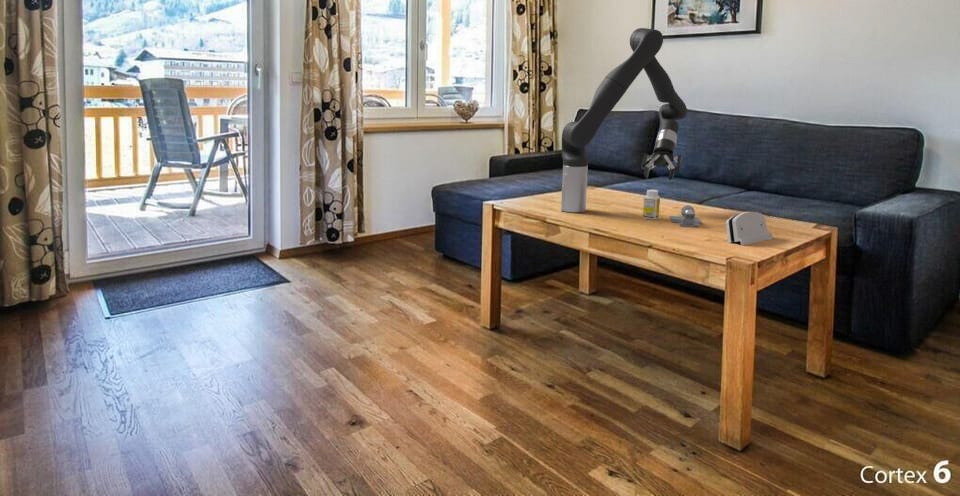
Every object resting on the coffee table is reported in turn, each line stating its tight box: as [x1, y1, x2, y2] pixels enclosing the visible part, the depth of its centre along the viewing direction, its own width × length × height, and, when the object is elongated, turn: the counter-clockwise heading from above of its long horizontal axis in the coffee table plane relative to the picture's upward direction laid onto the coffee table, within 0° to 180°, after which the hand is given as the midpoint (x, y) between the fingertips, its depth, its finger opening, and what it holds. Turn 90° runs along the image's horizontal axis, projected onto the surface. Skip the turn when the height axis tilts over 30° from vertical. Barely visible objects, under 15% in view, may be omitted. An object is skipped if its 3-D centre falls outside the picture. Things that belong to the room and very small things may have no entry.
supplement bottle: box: [642, 189, 661, 221], centre depth 238 cm, size 6×6×10 cm
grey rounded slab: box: [725, 211, 774, 246], centre depth 209 cm, size 17×5×10 cm, turn 125°
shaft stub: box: [678, 204, 700, 228], centre depth 229 cm, size 6×7×6 cm
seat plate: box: [669, 215, 703, 225], centre depth 237 cm, size 10×10×1 cm
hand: (658, 178), depth 245 cm, fingers open, 8 cm apart
